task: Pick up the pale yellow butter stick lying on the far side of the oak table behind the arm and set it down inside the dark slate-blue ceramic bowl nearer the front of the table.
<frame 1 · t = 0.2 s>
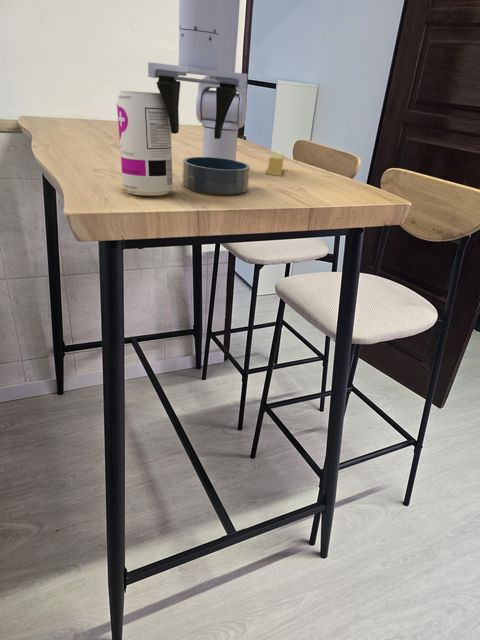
hand: (196, 135, 75), 10 cm above the table, tool pointing down, fingers open, 6 cm apart
supplement can: (148, 193, 81), on the table, touching gripper
butter: (275, 172, 110), on the table
bowl: (215, 188, 90), on the table
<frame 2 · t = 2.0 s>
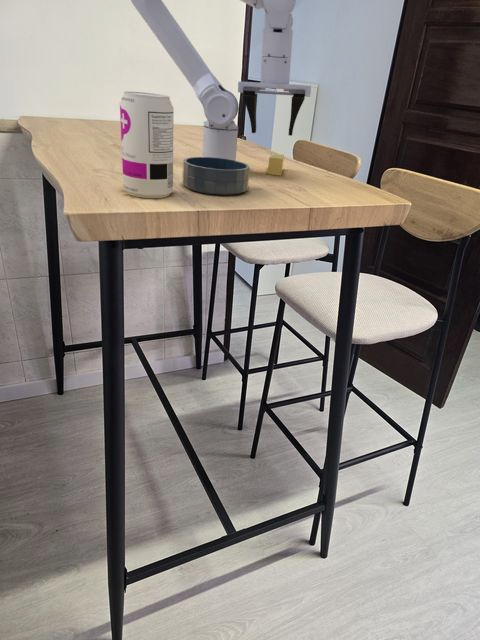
hand: (272, 133, 99), 9 cm above the table, tool pointing down, fingers open, 7 cm apart
supplement can: (148, 194, 81), on the table
everything else where it was.
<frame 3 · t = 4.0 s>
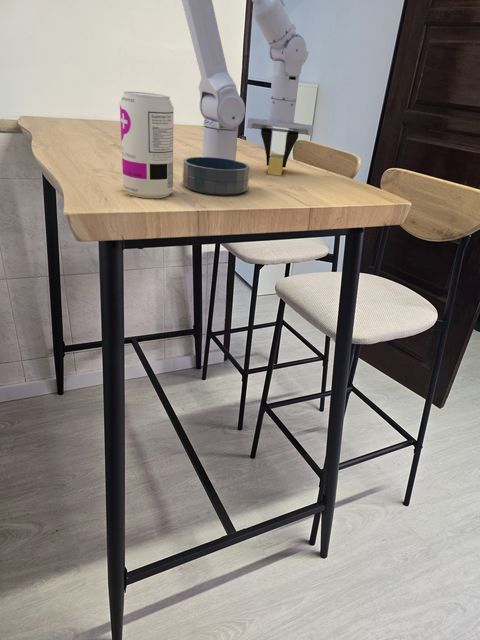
hand: (275, 165, 109), 1 cm above the table, tool pointing down, fingers closed on butter, 3 cm apart
butter: (275, 172, 110), on the table, touching gripper
everything else where it was.
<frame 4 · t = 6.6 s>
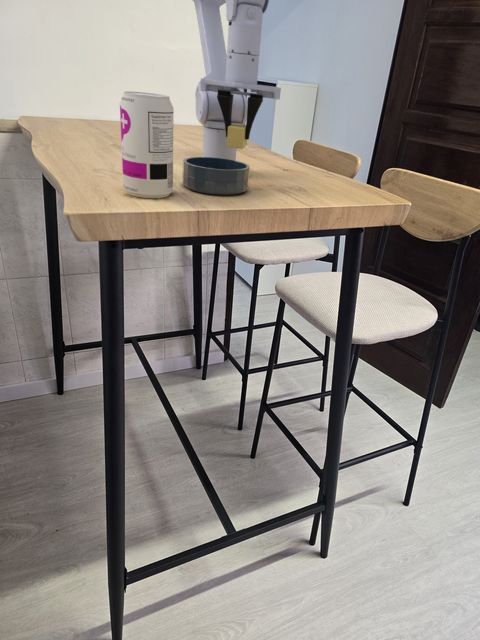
hand: (237, 137, 91), 8 cm above the table, tool pointing down, fingers closed on butter, 3 cm apart
butter: (237, 145, 91), point 7 cm above the table, touching gripper
everything else where it was.
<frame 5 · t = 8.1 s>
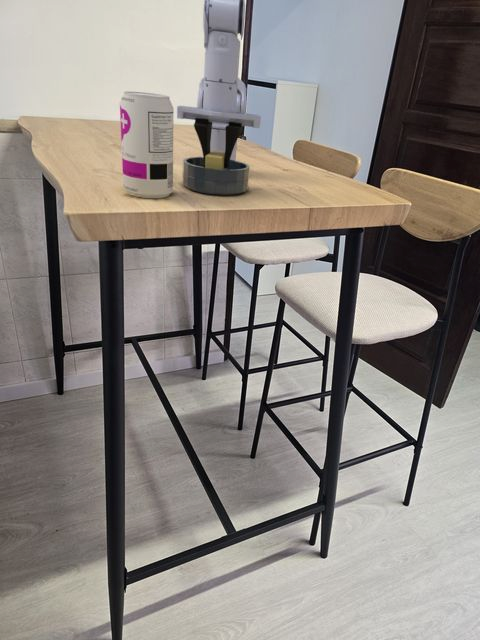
hand: (216, 166, 88), 4 cm above the table, tool pointing down, fingers closed on butter, 3 cm apart
butter: (216, 174, 88), point 3 cm above the table, touching gripper
everything else where it was.
when the fingers open (2 cm above the table, at t = 9.1 s): butter stays where it is, resting on bowl.
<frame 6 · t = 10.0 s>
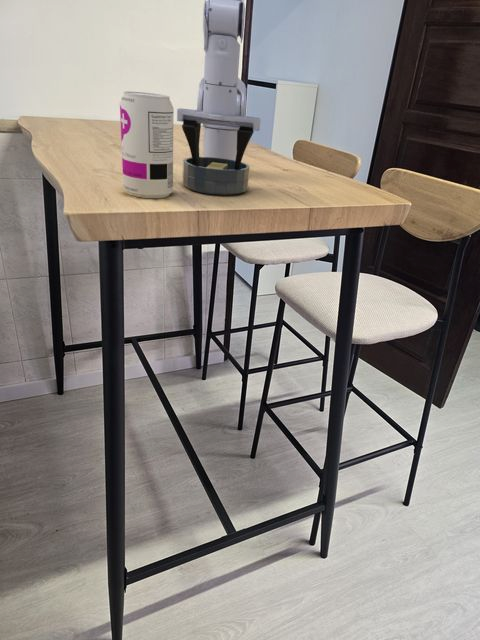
hand: (216, 168, 88), 4 cm above the table, tool pointing down, fingers open, 7 cm apart
butter: (215, 185, 89), resting on bowl
everything else where it was.
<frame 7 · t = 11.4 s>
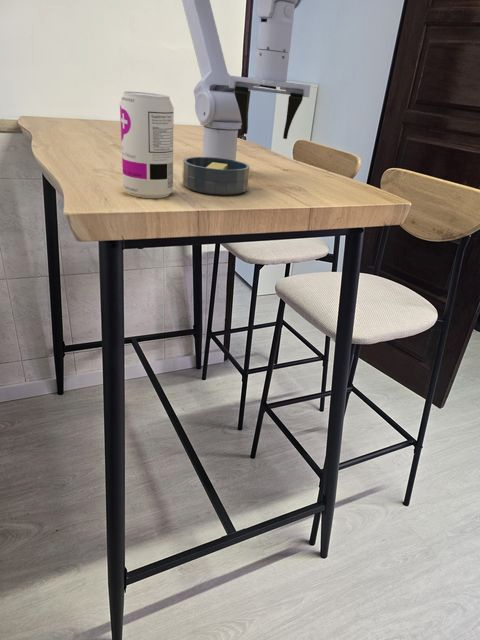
hand: (265, 135, 90), 9 cm above the table, tool pointing down, fingers open, 7 cm apart
nothing on the table moved.
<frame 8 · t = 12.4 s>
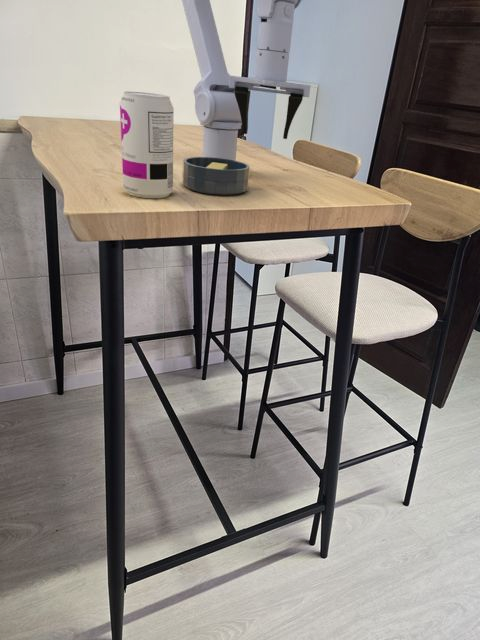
hand: (265, 135, 90), 9 cm above the table, tool pointing down, fingers open, 7 cm apart
nothing on the table moved.
at the end: butter inside the target area in the bowl (0.0 cm from its centre), point 0.5 cm above the bowl's base; the gripper is holding nothing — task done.
